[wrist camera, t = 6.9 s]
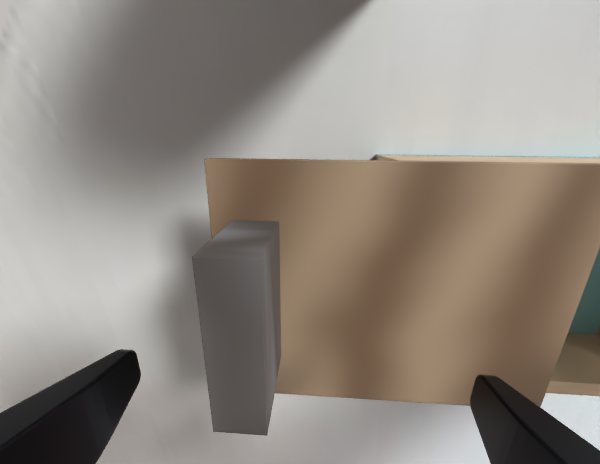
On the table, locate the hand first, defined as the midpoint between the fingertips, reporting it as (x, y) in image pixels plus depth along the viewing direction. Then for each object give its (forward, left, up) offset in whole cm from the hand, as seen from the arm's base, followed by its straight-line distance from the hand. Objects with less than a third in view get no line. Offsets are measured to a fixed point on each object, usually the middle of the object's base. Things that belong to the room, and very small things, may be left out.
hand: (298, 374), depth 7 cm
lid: (-4, +1, -6) cm, 7 cm away
